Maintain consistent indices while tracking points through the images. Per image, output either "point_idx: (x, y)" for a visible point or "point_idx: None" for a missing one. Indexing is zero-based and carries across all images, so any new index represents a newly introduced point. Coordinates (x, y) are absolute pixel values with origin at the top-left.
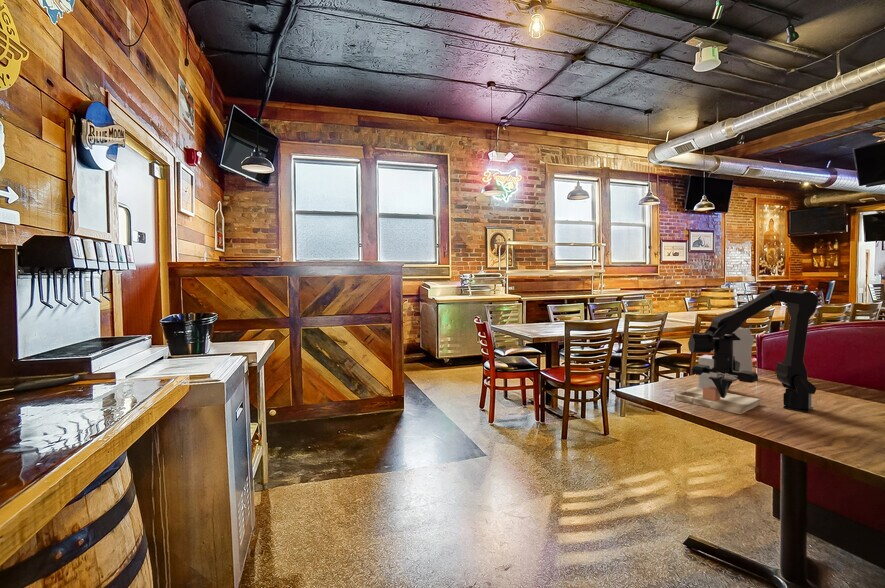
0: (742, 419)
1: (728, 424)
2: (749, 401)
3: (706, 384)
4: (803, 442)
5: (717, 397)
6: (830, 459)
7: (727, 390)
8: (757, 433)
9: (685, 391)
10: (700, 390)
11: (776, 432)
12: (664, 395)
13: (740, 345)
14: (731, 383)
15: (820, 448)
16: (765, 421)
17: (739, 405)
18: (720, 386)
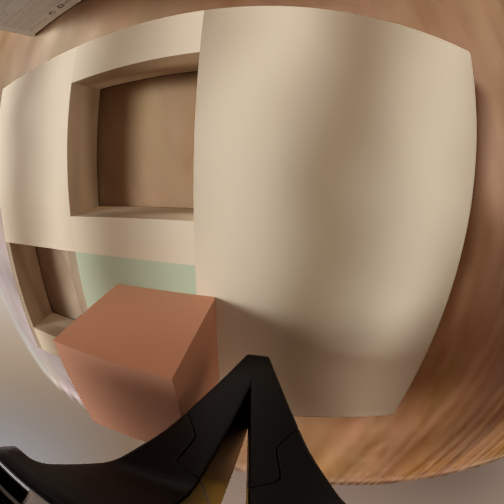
0: (389, 431)
1: (345, 476)
2: (447, 194)
3: (32, 5)
4: (488, 443)
5: (211, 362)
6: (489, 461)
7: (288, 420)
8: (413, 472)
9: (10, 245)
10: (27, 139)
11: (461, 442)
12: (8, 282)
13: None
14: (336, 497)
15: (500, 442)
16: (466, 393)
17: (388, 374)
18: (224, 488)
